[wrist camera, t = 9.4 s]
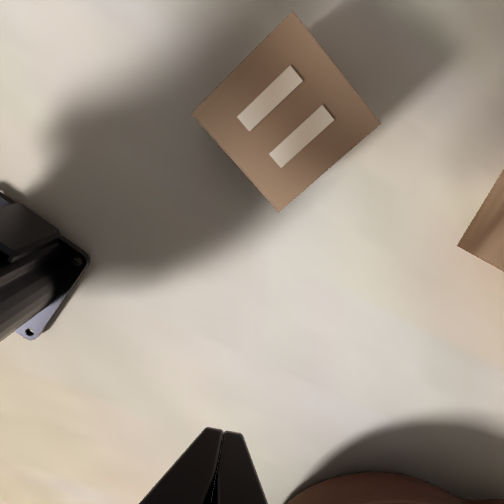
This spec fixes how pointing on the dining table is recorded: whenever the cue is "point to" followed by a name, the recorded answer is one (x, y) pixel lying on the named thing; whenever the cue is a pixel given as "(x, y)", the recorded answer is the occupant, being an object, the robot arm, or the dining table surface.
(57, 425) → the dining table surface
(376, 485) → the dish
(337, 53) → the dining table surface
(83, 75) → the dining table surface
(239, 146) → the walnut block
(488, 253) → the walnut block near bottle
